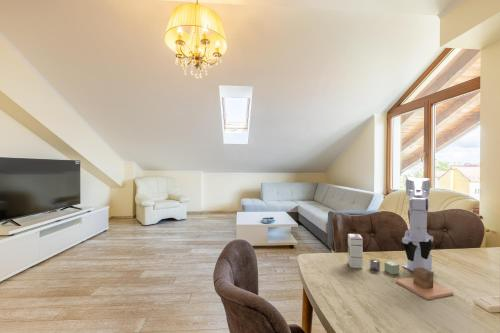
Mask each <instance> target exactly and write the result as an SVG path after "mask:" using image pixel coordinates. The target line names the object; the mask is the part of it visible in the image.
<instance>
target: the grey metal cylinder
mask: <svg viewBox="0 0 500 333" xmlns="http://www.w3.org/2000/svg"><path fill="white" fill-rule="evenodd" d="M369 269H370V270H371V271H372V272H380V271H381V261H380V260H379V259H376V258H375V259H373V258H371V259H370V260H369Z"/></svg>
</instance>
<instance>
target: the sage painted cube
mask: <svg viewBox="0 0 500 333" xmlns="http://www.w3.org/2000/svg"><path fill="white" fill-rule="evenodd" d="M383 271H384V272H386V273H389V275H397V274H400V264H398V263H396V262H394V261H384V270H383Z"/></svg>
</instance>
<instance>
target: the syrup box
mask: <svg viewBox="0 0 500 333" xmlns="http://www.w3.org/2000/svg"><path fill="white" fill-rule="evenodd" d="M363 240H364V239H363V237H362V235H361V234H359V233H348V234H347V263H348V265H349V267H350V268H354V269H363V266H364V265H363V264H364V261H363V260H364V259H363V258H364V254H363V252H364V249H363V246H364V245H363V243H364V241H363Z"/></svg>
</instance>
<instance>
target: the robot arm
mask: <svg viewBox="0 0 500 333" xmlns="http://www.w3.org/2000/svg"><path fill="white" fill-rule="evenodd" d="M430 191H431V179H430V178H429V177H428V178H426V177H425V178H424V177H423V178H422V177H408V176H407V177H406V178H405V193H406V195H407V196H408V197H410V198H409V199H408V210H409V228H408V229H407V230H405V231H404V237H402V238H401V246H402V247H403V249H404V252H405V254H406V258H407V260H406V264H405V265H402V268H405V269H407V270H409V271H411V272H412V273H414V268H421V267H422V268H425V269H427V270H429V271H432V272H434V270H433V269H432V268H433V267H432V266H433V265H432V264H433V257H432V254H431V253H430V252H431V251H432V249H433V248H434V246H435V244H436V243H435V242H434V236H433V235H430V234H429V233H428V232H427V230H428V229H427V228H428V213H429V209H430V208H429V203H430V202H429V195H430ZM434 273H435V272H434Z"/></svg>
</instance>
